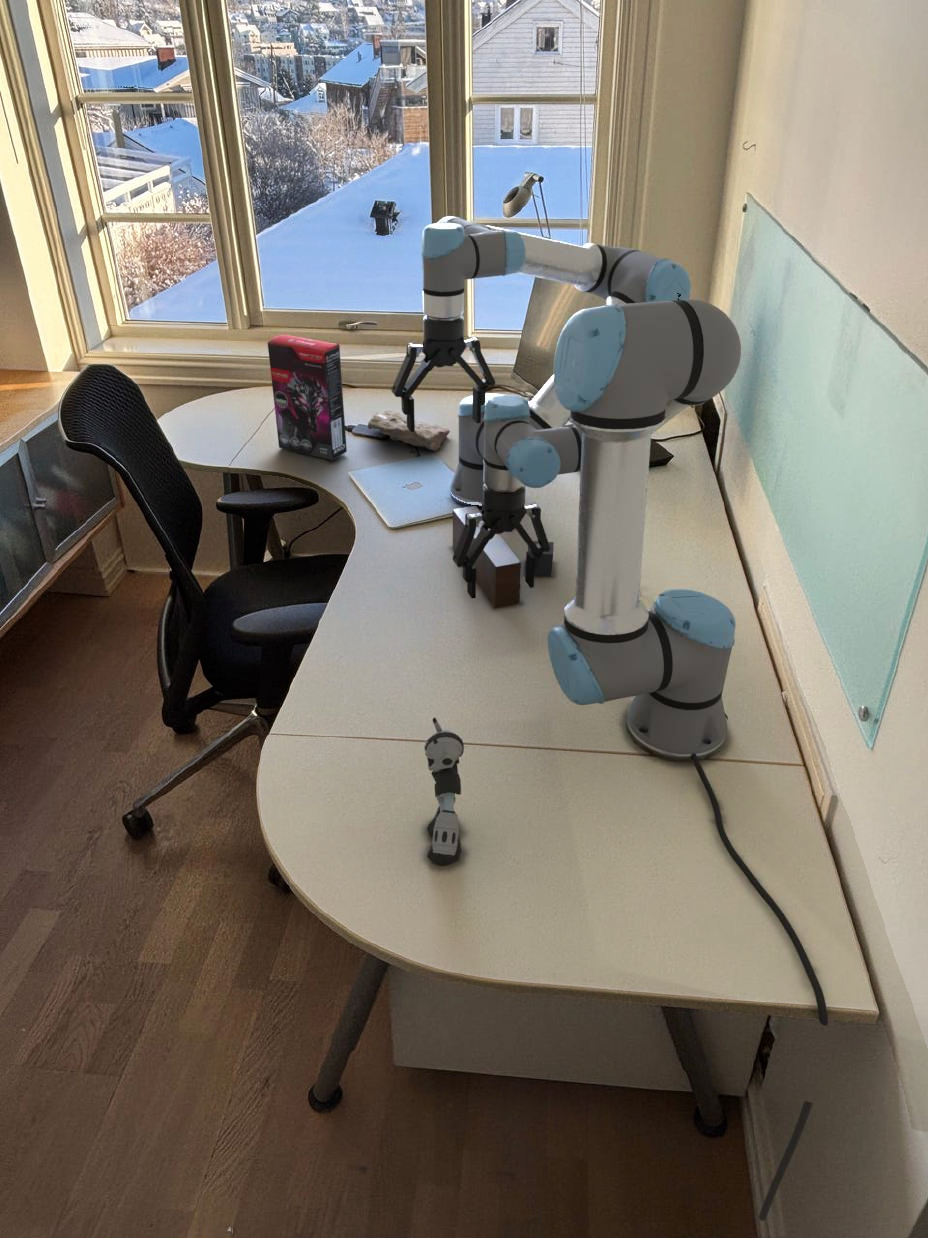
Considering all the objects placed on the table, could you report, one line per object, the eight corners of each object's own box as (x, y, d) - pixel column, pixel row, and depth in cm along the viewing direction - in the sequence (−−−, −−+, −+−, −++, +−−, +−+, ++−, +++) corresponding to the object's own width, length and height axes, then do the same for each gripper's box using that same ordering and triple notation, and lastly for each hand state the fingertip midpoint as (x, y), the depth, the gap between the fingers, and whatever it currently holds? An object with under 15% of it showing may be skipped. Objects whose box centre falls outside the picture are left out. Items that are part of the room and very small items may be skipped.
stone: (352, 434, 231) (356, 410, 229) (373, 426, 244) (377, 403, 242) (430, 458, 227) (435, 434, 225) (447, 448, 241) (452, 426, 238)
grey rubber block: (551, 576, 181) (553, 554, 178) (526, 575, 182) (527, 553, 179) (552, 563, 185) (553, 541, 183) (527, 562, 186) (528, 540, 183)
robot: (466, 900, 116) (468, 784, 104) (427, 902, 115) (425, 785, 104) (459, 789, 132) (460, 678, 121) (425, 790, 132) (423, 679, 120)
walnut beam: (519, 603, 173) (521, 562, 168) (494, 608, 172) (496, 566, 166) (475, 544, 192) (475, 505, 187) (452, 548, 190) (452, 509, 185)
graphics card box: (276, 448, 231) (264, 340, 216) (293, 439, 236) (282, 332, 221) (333, 462, 225) (324, 351, 209) (349, 452, 230) (341, 343, 214)
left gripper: (499, 304, 175) (496, 410, 187) (372, 315, 168) (377, 425, 180) (514, 314, 170) (510, 424, 181) (383, 327, 162) (387, 440, 174)
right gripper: (556, 466, 168) (549, 569, 180) (434, 484, 161) (435, 590, 174) (574, 483, 162) (565, 588, 174) (448, 502, 156) (448, 611, 168)
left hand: (444, 425), depth 181 cm, fingers open, 13 cm apart
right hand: (500, 589), depth 174 cm, fingers open, 11 cm apart
